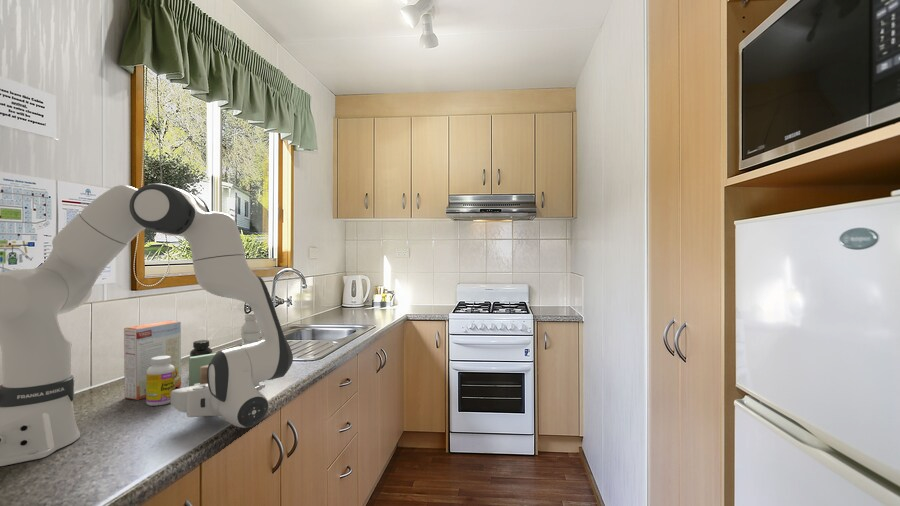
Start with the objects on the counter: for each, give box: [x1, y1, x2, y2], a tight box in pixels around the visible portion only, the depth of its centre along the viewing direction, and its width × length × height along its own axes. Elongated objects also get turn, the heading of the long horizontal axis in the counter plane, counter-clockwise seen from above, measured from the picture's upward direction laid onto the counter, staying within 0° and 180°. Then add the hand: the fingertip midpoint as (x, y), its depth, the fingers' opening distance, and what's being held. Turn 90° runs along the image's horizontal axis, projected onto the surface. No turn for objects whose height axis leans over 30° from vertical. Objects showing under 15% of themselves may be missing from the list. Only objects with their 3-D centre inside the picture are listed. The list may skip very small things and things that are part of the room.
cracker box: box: [123, 320, 182, 401], centre depth 131 cm, size 14×6×21 cm, turn 161°
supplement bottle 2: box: [189, 339, 213, 357], centre depth 149 cm, size 7×7×12 cm
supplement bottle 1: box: [145, 356, 175, 407], centre depth 122 cm, size 7×7×13 cm
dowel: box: [200, 365, 209, 384], centre depth 116 cm, size 4×4×12 cm
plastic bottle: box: [240, 313, 261, 346], centre depth 157 cm, size 6×7×20 cm
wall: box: [188, 352, 217, 387], centre depth 135 cm, size 16×2×11 cm, turn 137°
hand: (207, 384), depth 116 cm, fingers closed on dowel, 4 cm apart
